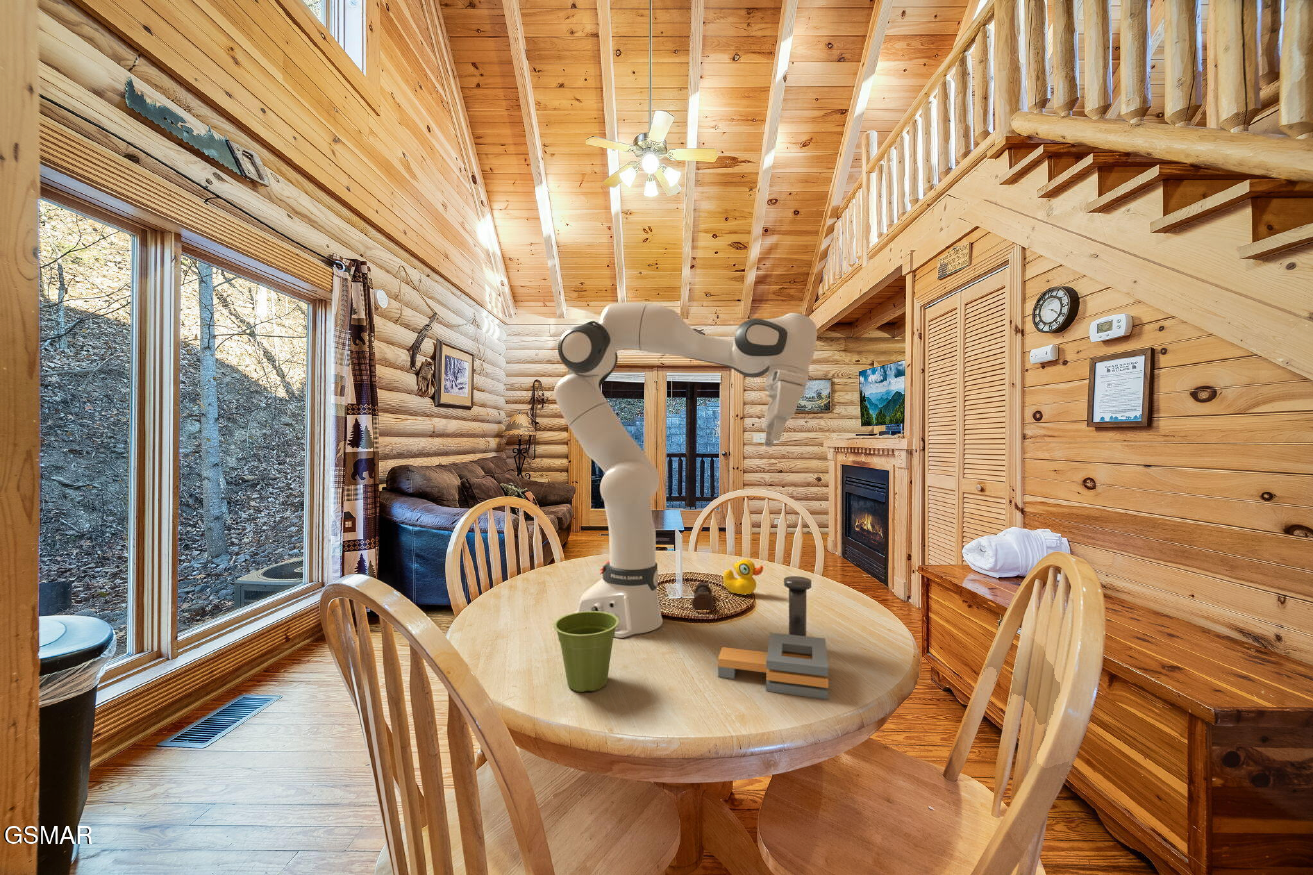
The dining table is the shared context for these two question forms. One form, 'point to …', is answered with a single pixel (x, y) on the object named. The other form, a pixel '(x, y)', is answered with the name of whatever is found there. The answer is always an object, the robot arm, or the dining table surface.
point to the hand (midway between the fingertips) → (771, 443)
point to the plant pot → (586, 647)
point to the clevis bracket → (783, 664)
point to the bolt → (702, 597)
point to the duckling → (742, 577)
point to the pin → (797, 603)
